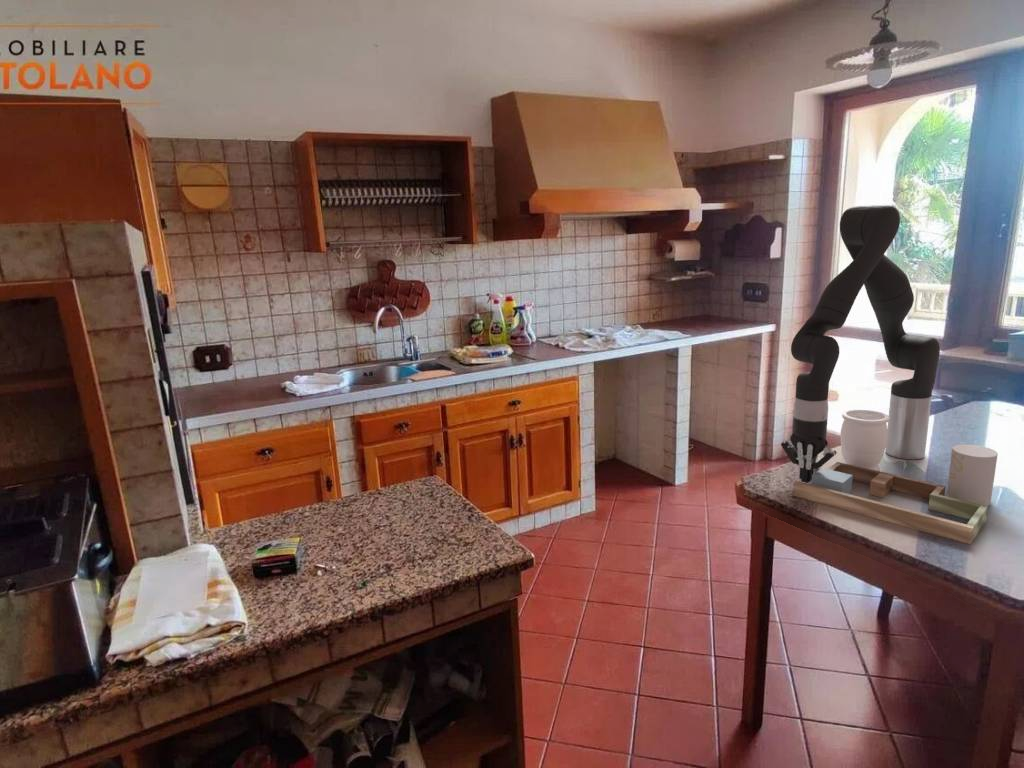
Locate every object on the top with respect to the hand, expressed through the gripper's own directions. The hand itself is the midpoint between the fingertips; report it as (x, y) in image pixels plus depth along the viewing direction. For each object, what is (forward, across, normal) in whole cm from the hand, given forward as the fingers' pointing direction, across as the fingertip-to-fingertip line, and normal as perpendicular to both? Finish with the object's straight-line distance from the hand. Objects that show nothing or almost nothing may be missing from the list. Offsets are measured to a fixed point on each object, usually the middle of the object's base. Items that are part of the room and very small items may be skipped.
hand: (805, 481), depth 148 cm
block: (+2, -6, 0) cm, 6 cm away
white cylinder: (+2, -30, -17) cm, 34 cm away
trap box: (+1, -17, -3) cm, 18 cm away
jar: (+2, -6, -20) cm, 21 cm away
